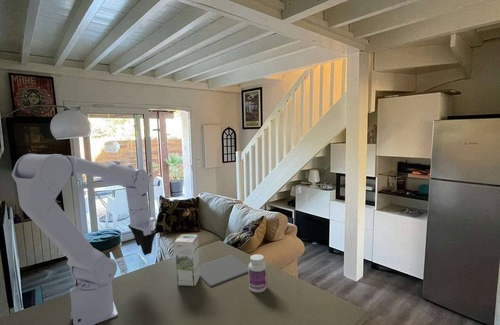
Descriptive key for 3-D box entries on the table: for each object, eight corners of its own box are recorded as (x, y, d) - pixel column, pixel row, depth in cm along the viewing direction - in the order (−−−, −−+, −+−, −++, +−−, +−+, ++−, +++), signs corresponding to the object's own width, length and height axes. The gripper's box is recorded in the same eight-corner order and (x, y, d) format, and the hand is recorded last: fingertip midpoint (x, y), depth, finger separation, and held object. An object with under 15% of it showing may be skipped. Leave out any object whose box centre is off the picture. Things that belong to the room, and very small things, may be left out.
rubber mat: (210, 287, 82) (210, 285, 82) (191, 268, 93) (191, 267, 93) (253, 270, 91) (253, 268, 91) (231, 255, 102) (231, 254, 102)
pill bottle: (269, 290, 79) (269, 259, 78) (252, 295, 77) (252, 262, 76) (262, 281, 84) (261, 251, 83) (246, 285, 82) (245, 254, 81)
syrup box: (200, 276, 88) (198, 233, 86) (194, 287, 82) (192, 241, 80) (183, 276, 88) (180, 233, 87) (176, 286, 82) (173, 240, 81)
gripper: (159, 210, 79) (164, 253, 81) (145, 199, 90) (150, 237, 93) (133, 216, 75) (140, 261, 77) (123, 204, 86) (128, 243, 89)
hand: (144, 249), depth 85 cm, fingers open, 7 cm apart
